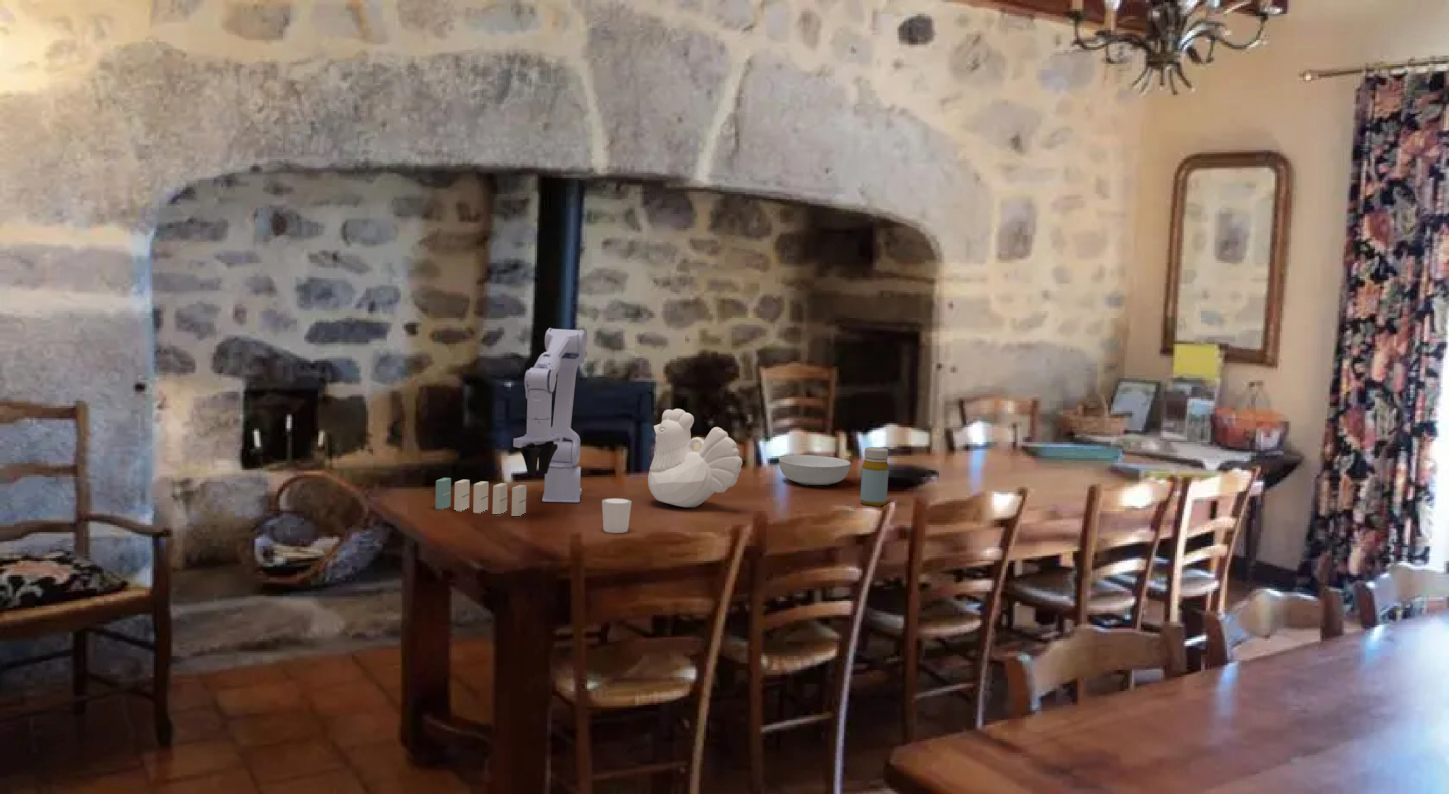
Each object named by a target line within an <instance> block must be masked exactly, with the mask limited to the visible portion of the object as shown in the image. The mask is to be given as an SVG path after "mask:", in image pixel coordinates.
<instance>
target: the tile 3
mask: <svg viewBox="0 0 1449 794" xmlns="http://www.w3.org/2000/svg"><path fill="white" fill-rule="evenodd" d="M472 503H473V506H472V507H473V510H472V512H473V513H474V514H482V513H484V512H486V511H485V510H487V511H488V510H489V481H484V480H483V481H482V480H481V481H479V482H475V483H474V484H473V502H472ZM483 511H484V512H483ZM481 512H482V513H481Z"/></svg>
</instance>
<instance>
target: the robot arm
mask: <svg viewBox="0 0 1449 794" xmlns="http://www.w3.org/2000/svg"><path fill="white" fill-rule="evenodd" d="M544 347H545V348H544V349H545V351H543V353H541V354H540V355H539V356H538V358H537V360H536V362H535V363H534V366H533V367H530V368H529V369H527V370H526V371H525V375H524V389H525V399H526V400H527V403H526V404H527V407H526V409H527V410H526V434H524V436H520V437H516V438H515V437H514V438H513V442H512V443H513V444H512V445H513V447H514V448H518V450H519V453H521V454H520V455H521V456H522V458H523V460H524V463H525V467H526V472H527V475H528V476H533V477H534V476H537V469H538V472H539V474H543V475H544V489H543V491H544V493H543V494H542V500H541V501H542V502H543V503H545V502H546V503H580V502H581V500H580V499H581V495H582V487H581V471H582V467H581V466H577V464H579V461H580V459H581V438H580V435H579V434H578V433H577V432H576V431H575V430H573V429H572V419H573V418H572V416H573V407H574V397H575V387H576V379H577V378H576V377H577V371H578V369H579V368H578V367H579V366H580V365H582V364H584V363H585V359H586V353H587V352H586V351H587V334H586V331H585V330H584V329H564V328H552V327H549V328H548V329H547V330H546V331H545V335H544ZM555 388H556V389H555ZM554 391H555V398H554V407H553V408H554V409H553V416H552V403H553V402H552V400H553V397H552V396H553V392H554ZM552 417H553V418H552Z"/></svg>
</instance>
